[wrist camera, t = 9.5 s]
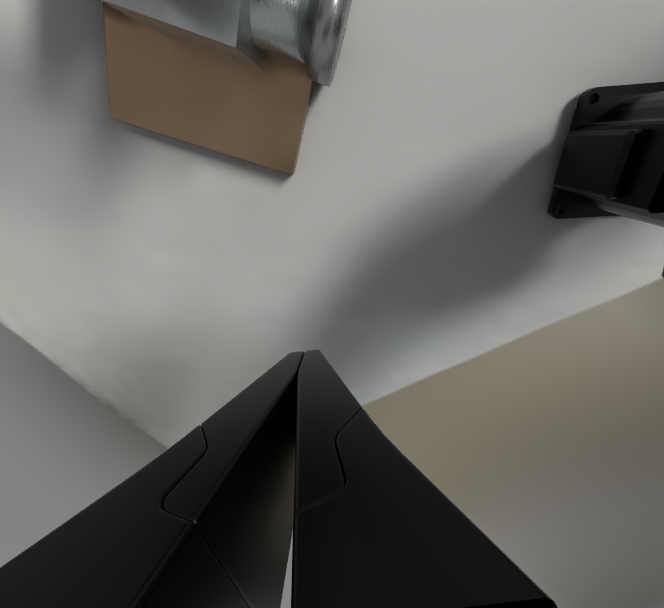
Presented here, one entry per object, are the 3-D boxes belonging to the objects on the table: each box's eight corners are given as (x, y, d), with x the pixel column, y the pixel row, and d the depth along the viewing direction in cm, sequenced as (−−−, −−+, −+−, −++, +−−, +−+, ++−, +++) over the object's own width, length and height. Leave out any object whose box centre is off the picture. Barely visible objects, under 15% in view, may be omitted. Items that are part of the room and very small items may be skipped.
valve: (358, -25, 14) (371, -142, 8) (310, 178, 18) (295, 198, 12) (82, -136, 12) (-143, -372, 7) (101, 112, 17) (-26, 99, 11)
